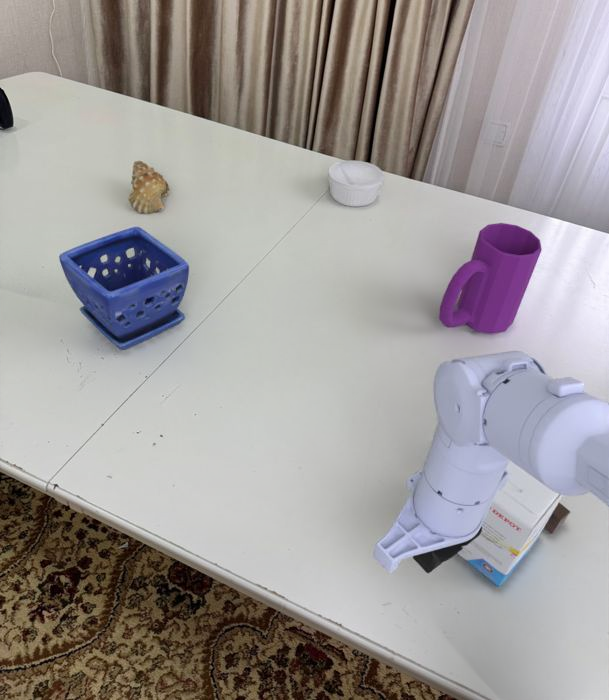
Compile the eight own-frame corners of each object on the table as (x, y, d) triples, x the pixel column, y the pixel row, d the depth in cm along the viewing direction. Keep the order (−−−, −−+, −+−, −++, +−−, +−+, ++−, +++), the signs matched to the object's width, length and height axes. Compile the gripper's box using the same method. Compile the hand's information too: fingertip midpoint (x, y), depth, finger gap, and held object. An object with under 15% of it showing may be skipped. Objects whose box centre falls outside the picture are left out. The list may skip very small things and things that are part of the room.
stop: (561, 525, 73) (570, 511, 71) (551, 534, 72) (560, 520, 70) (482, 458, 80) (489, 443, 78) (472, 465, 79) (478, 450, 77)
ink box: (537, 540, 71) (575, 480, 63) (498, 589, 67) (533, 531, 59) (475, 493, 75) (502, 432, 68) (434, 536, 71) (458, 475, 63)
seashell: (121, 216, 121) (111, 163, 119) (159, 211, 126) (150, 160, 124) (142, 214, 114) (132, 158, 112) (181, 209, 119) (172, 155, 117)
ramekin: (314, 194, 127) (316, 170, 123) (349, 177, 133) (352, 154, 130) (357, 216, 122) (360, 192, 118) (390, 197, 128) (395, 174, 125)
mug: (523, 324, 100) (555, 245, 90) (455, 357, 93) (481, 276, 83) (482, 293, 106) (508, 216, 96) (414, 322, 99) (434, 242, 89)
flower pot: (145, 285, 101) (137, 221, 93) (195, 326, 94) (191, 261, 86) (70, 319, 94) (54, 252, 85) (119, 366, 87) (106, 299, 79)
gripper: (480, 405, 55) (446, 494, 64) (357, 484, 48) (338, 571, 57) (547, 458, 51) (499, 544, 60) (424, 552, 44) (391, 634, 53)
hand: (425, 561), depth 58 cm, fingers closed
